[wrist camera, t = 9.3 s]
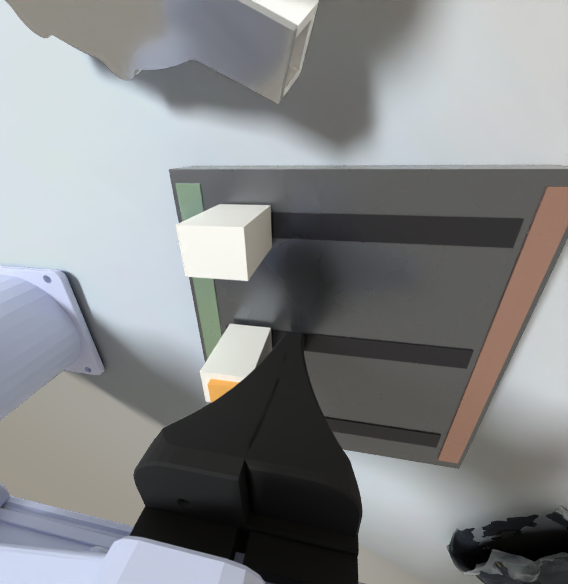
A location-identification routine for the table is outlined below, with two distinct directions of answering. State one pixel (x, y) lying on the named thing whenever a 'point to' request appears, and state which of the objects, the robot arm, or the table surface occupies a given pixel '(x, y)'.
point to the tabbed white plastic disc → (184, 35)
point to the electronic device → (508, 555)
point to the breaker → (225, 241)
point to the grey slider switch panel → (390, 287)
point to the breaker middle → (234, 358)
